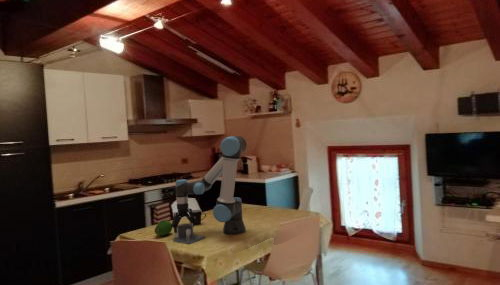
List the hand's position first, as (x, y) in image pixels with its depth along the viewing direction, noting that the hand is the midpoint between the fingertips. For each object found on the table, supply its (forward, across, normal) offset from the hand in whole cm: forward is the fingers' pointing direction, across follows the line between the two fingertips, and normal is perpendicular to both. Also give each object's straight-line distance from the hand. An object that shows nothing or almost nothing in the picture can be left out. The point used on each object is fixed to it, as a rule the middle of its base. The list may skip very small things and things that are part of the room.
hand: (184, 235), depth 252 cm
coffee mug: (0, -25, -13) cm, 28 cm away
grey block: (0, 0, 0) cm, 0 cm away
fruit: (0, +7, -13) cm, 15 cm away
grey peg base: (0, +6, +11) cm, 13 cm away
